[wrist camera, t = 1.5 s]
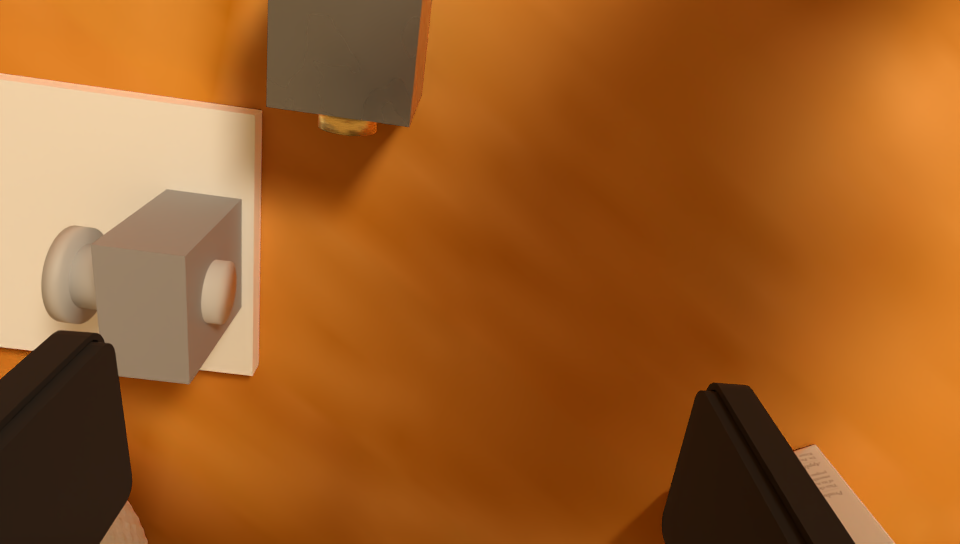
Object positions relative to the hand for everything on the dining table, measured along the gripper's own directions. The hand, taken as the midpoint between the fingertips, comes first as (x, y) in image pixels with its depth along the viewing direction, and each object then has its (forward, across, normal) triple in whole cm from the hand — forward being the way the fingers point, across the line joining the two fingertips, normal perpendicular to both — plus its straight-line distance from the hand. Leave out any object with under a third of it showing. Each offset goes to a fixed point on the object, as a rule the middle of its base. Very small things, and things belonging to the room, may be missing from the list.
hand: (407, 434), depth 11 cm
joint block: (+19, +3, -5) cm, 19 cm away
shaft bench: (+19, +18, +5) cm, 26 cm away
